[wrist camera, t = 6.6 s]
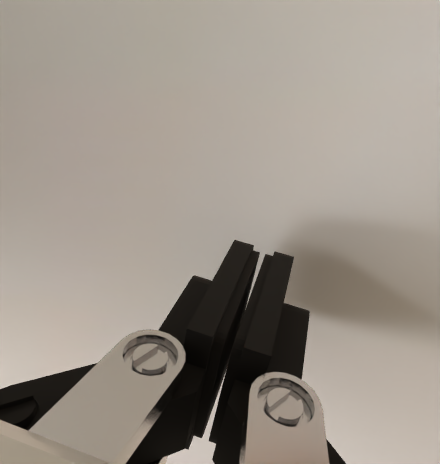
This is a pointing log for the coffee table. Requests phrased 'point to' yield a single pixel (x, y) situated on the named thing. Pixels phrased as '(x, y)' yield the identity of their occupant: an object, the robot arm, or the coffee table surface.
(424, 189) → the coffee table surface
